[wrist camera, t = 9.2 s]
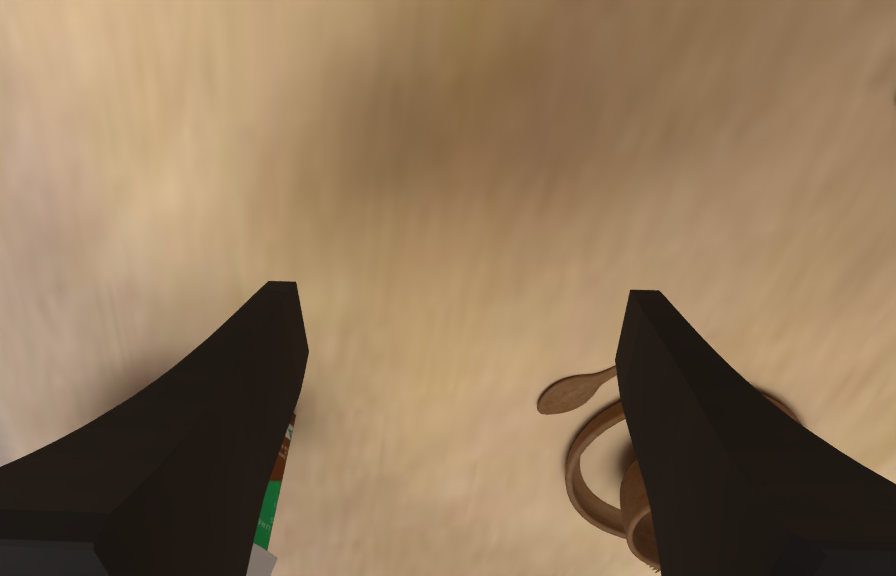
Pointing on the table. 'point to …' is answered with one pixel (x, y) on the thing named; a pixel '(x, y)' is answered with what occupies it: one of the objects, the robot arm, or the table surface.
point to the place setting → (633, 497)
